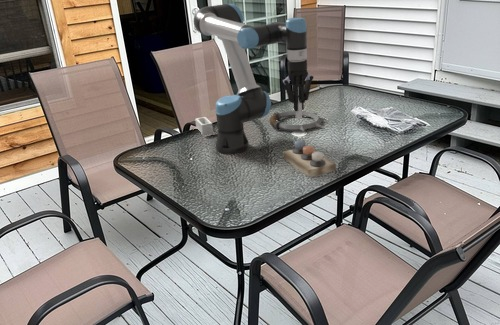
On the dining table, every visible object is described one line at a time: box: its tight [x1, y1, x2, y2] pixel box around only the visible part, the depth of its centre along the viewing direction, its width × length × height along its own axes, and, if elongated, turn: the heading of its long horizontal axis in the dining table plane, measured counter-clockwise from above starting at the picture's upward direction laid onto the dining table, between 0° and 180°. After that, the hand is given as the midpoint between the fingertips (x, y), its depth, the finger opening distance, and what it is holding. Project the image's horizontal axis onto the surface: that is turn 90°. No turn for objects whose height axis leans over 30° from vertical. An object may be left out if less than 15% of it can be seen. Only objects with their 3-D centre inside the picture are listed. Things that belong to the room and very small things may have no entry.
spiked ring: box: [268, 110, 328, 132], centre depth 230 cm, size 33×5×30 cm
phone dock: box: [194, 116, 214, 135], centre depth 227 cm, size 5×12×6 cm, turn 22°
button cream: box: [312, 151, 324, 161], centre depth 174 cm, size 4×4×2 cm
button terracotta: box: [303, 145, 315, 155], centre depth 181 cm, size 4×4×2 cm
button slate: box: [293, 139, 306, 148], centre depth 187 cm, size 4×4×2 cm
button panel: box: [282, 147, 337, 178], centre depth 182 cm, size 12×22×4 cm, turn 22°
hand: (299, 118), depth 182 cm, fingers closed
